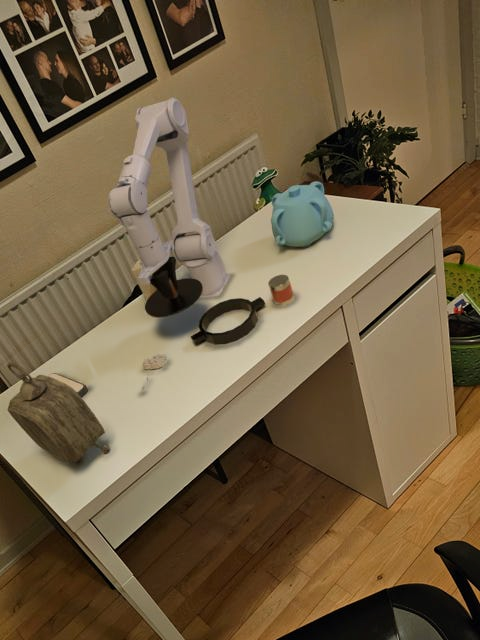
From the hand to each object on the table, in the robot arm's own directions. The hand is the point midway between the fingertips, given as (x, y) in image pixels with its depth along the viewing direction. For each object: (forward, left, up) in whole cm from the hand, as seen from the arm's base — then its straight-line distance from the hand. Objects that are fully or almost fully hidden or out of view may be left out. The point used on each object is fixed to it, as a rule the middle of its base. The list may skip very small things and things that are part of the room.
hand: (171, 293), depth 127 cm
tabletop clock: (+41, -8, -11) cm, 43 cm away
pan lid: (0, 0, -1) cm, 1 cm away
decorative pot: (-37, +21, -11) cm, 44 cm away
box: (-14, -16, -11) cm, 24 cm away
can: (-8, +23, -10) cm, 27 cm away
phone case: (+23, -27, -11) cm, 37 cm away
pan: (+1, +12, -10) cm, 16 cm away
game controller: (+17, -3, -11) cm, 20 cm away
